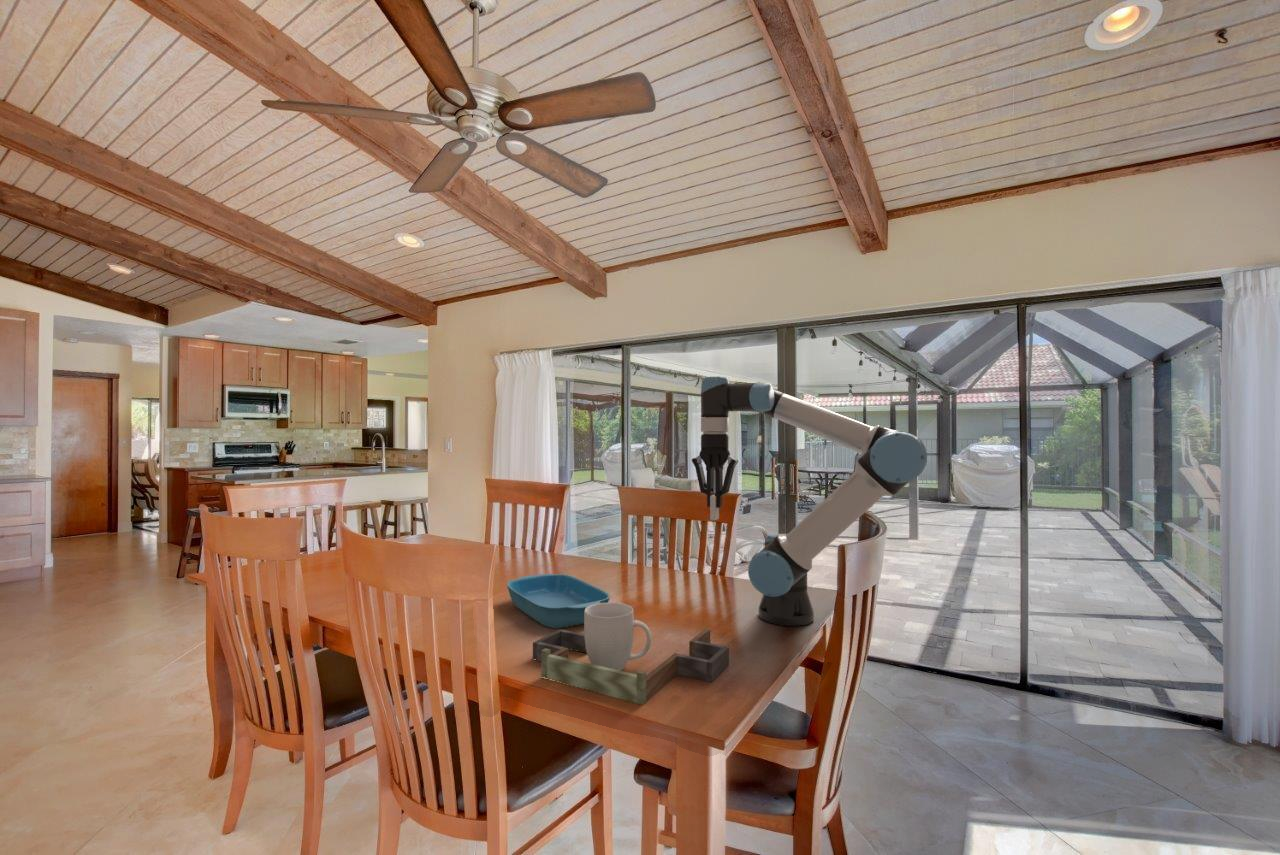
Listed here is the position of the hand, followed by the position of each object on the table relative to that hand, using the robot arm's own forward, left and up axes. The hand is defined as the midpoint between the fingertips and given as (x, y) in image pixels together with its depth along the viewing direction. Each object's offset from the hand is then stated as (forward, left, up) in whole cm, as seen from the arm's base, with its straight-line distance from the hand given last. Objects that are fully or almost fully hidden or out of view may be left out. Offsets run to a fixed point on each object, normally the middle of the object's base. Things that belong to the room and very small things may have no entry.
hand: (714, 519), depth 160 cm
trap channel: (+7, +34, -28) cm, 45 cm away
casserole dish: (+44, +13, -29) cm, 54 cm away
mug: (+9, +39, -29) cm, 49 cm away
